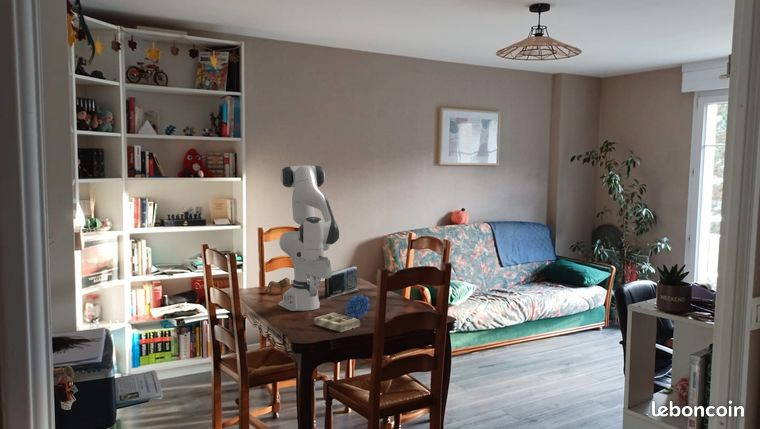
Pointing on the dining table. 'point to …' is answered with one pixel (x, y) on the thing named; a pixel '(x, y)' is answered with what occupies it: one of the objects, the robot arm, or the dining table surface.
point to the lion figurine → (279, 285)
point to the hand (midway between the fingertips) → (313, 285)
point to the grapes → (357, 306)
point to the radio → (341, 282)
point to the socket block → (337, 322)
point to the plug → (313, 288)
